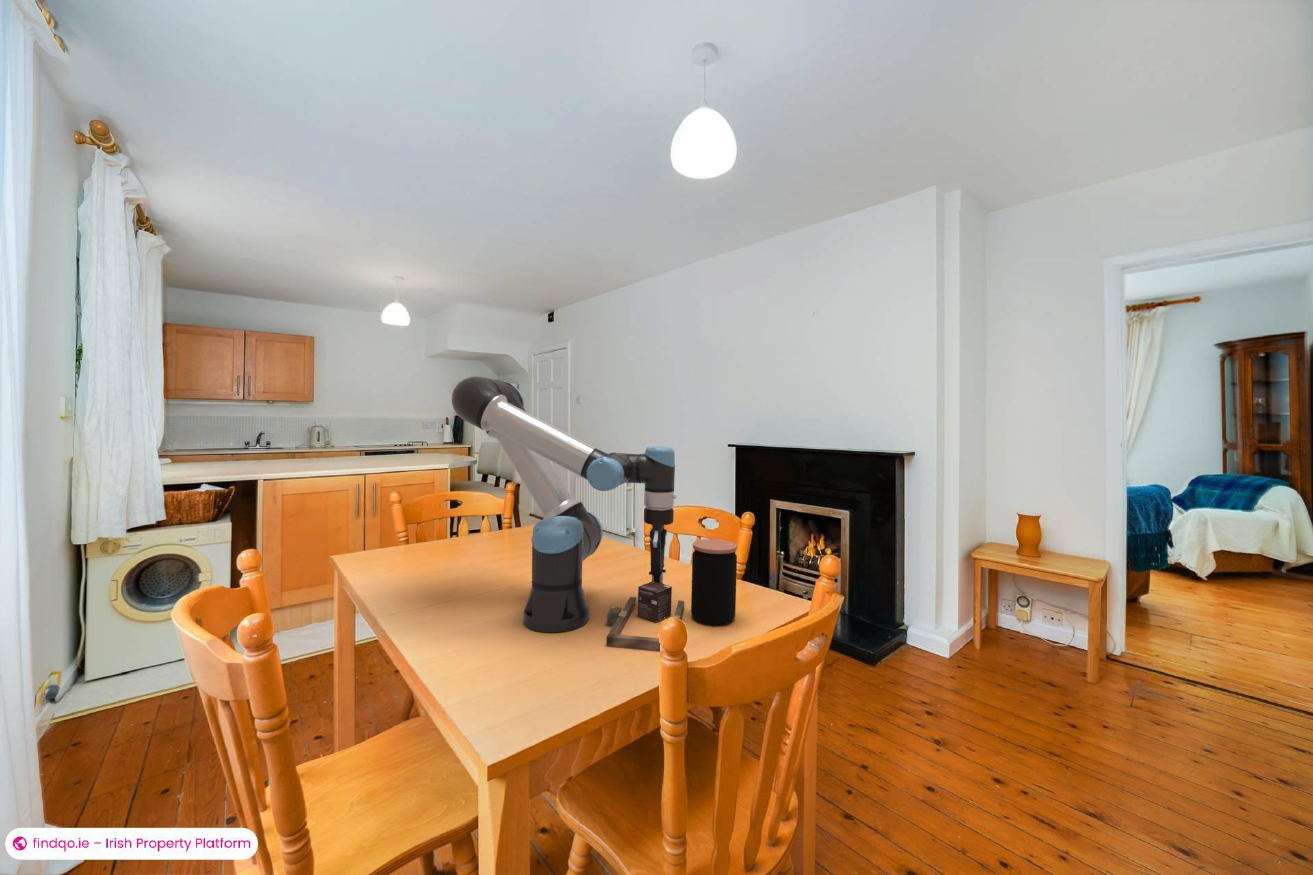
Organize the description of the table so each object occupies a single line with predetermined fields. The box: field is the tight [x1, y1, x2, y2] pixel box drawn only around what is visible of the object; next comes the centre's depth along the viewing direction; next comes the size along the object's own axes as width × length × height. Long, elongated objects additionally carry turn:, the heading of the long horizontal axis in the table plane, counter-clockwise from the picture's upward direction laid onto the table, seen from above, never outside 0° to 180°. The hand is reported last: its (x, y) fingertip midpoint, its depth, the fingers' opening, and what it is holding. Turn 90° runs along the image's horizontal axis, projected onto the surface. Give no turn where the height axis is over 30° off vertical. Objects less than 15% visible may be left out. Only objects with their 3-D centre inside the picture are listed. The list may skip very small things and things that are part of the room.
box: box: [637, 580, 673, 623], centre depth 120 cm, size 6×6×7 cm
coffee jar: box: [690, 538, 738, 627], centre depth 120 cm, size 11×11×18 cm
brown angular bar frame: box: [606, 596, 685, 652], centre depth 115 cm, size 17×24×4 cm
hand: (656, 598), depth 127 cm, fingers closed
